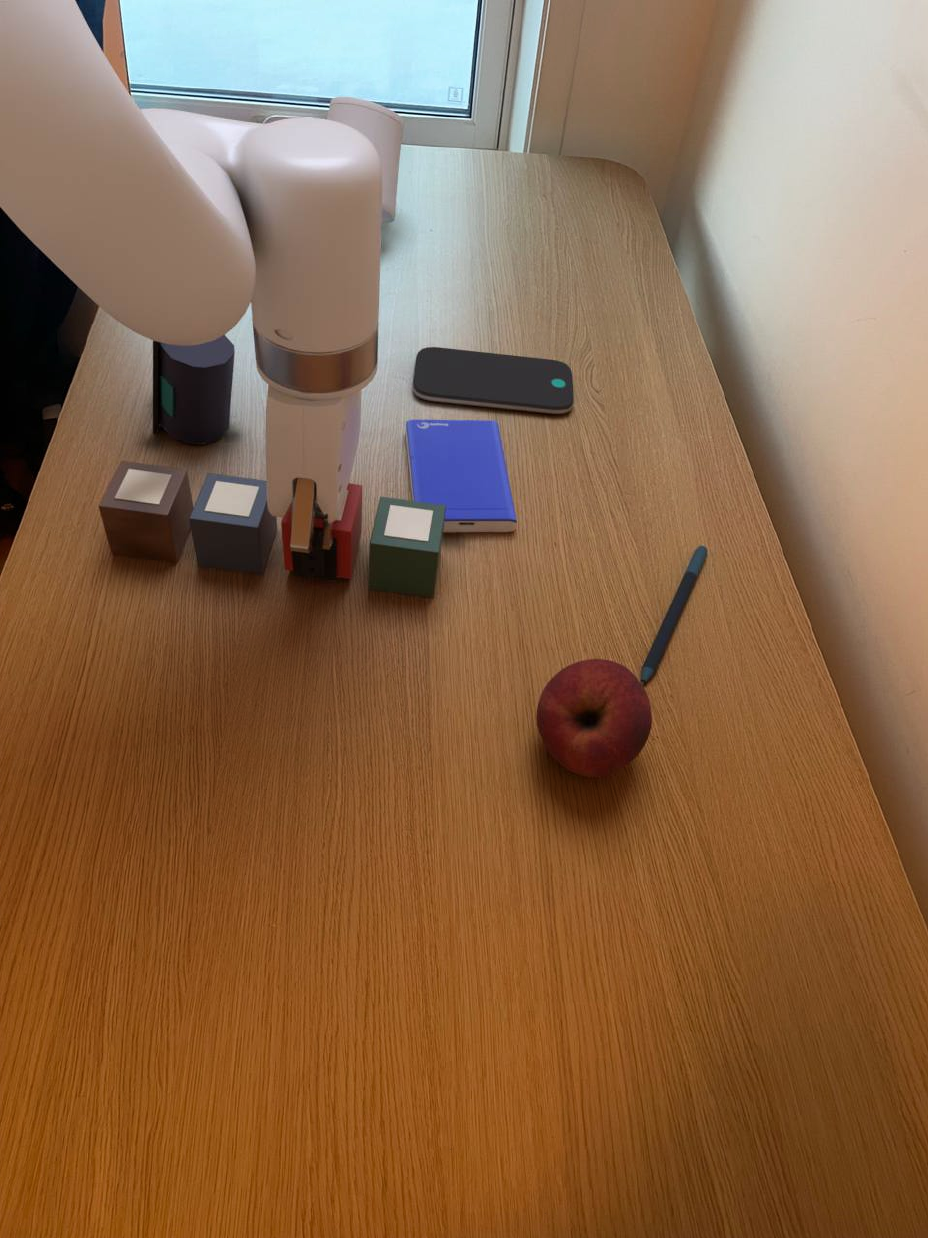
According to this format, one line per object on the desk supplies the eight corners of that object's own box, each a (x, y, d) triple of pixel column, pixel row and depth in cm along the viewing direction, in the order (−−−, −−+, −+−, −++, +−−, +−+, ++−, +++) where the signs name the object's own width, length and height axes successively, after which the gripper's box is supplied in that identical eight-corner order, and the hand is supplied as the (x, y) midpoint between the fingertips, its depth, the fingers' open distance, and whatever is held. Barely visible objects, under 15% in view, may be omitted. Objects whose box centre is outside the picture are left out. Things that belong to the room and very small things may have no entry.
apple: (503, 745, 63) (521, 675, 57) (576, 682, 67) (599, 611, 61) (588, 818, 60) (616, 753, 54) (659, 748, 64) (692, 680, 58)
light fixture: (393, 289, 100) (428, 120, 97) (248, 245, 93) (281, 61, 90) (363, 292, 109) (394, 137, 106) (229, 252, 102) (258, 85, 99)
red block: (284, 570, 70) (280, 521, 66) (298, 523, 73) (295, 474, 69) (350, 579, 70) (351, 530, 66) (361, 532, 73) (362, 483, 69)
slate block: (197, 566, 71) (188, 517, 67) (214, 520, 74) (207, 471, 70) (263, 574, 71) (258, 526, 67) (277, 528, 74) (273, 480, 70)
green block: (368, 589, 71) (369, 542, 67) (378, 542, 74) (380, 494, 70) (433, 598, 71) (439, 551, 67) (440, 551, 74) (446, 504, 70)
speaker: (128, 430, 79) (120, 322, 71) (163, 394, 83) (159, 289, 75) (211, 461, 79) (212, 356, 71) (242, 424, 83) (246, 321, 75)
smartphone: (574, 409, 86) (411, 392, 85) (573, 417, 86) (411, 400, 86) (572, 360, 91) (417, 343, 90) (570, 368, 91) (417, 351, 91)
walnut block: (111, 554, 70) (97, 504, 67) (132, 508, 74) (120, 459, 70) (177, 563, 71) (167, 514, 67) (195, 517, 74) (187, 468, 70)
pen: (633, 686, 68) (636, 676, 67) (694, 551, 77) (698, 541, 76) (647, 692, 68) (650, 682, 67) (707, 556, 77) (711, 546, 76)
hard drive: (405, 418, 82) (416, 519, 74) (498, 419, 83) (518, 518, 75) (405, 432, 83) (415, 533, 75) (495, 433, 84) (515, 532, 76)
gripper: (286, 263, 63) (297, 468, 77) (220, 421, 52) (247, 627, 66) (396, 278, 63) (387, 481, 77) (354, 440, 52) (352, 641, 66)
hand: (322, 546), depth 71 cm, fingers closed on red block, 5 cm apart
